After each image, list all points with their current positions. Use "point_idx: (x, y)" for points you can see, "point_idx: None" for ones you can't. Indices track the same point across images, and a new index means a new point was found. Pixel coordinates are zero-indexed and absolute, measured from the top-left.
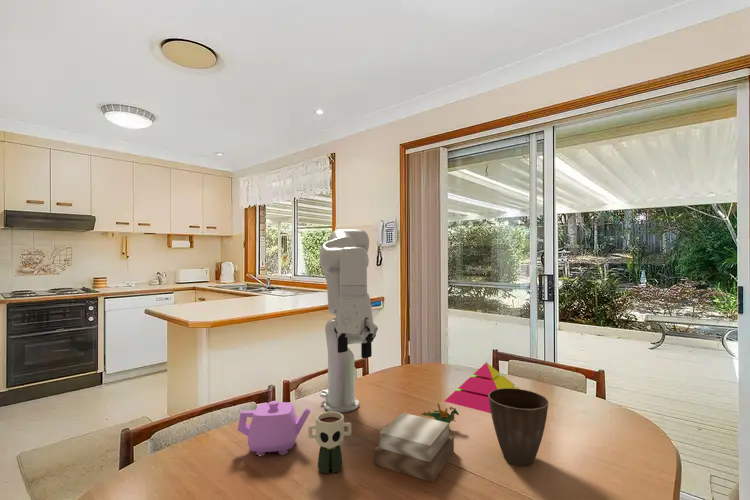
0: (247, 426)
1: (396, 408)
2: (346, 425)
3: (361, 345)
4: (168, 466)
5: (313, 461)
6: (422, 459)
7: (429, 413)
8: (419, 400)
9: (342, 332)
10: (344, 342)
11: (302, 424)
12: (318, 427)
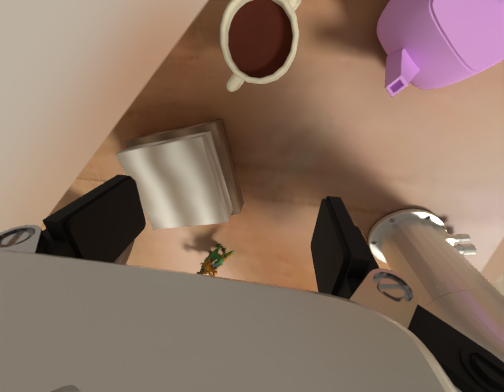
0: None
1: (308, 269)
2: (231, 77)
3: (71, 210)
4: None
5: (311, 47)
6: (142, 144)
7: (223, 256)
8: None
9: (235, 280)
10: (324, 269)
11: (387, 66)
12: None
